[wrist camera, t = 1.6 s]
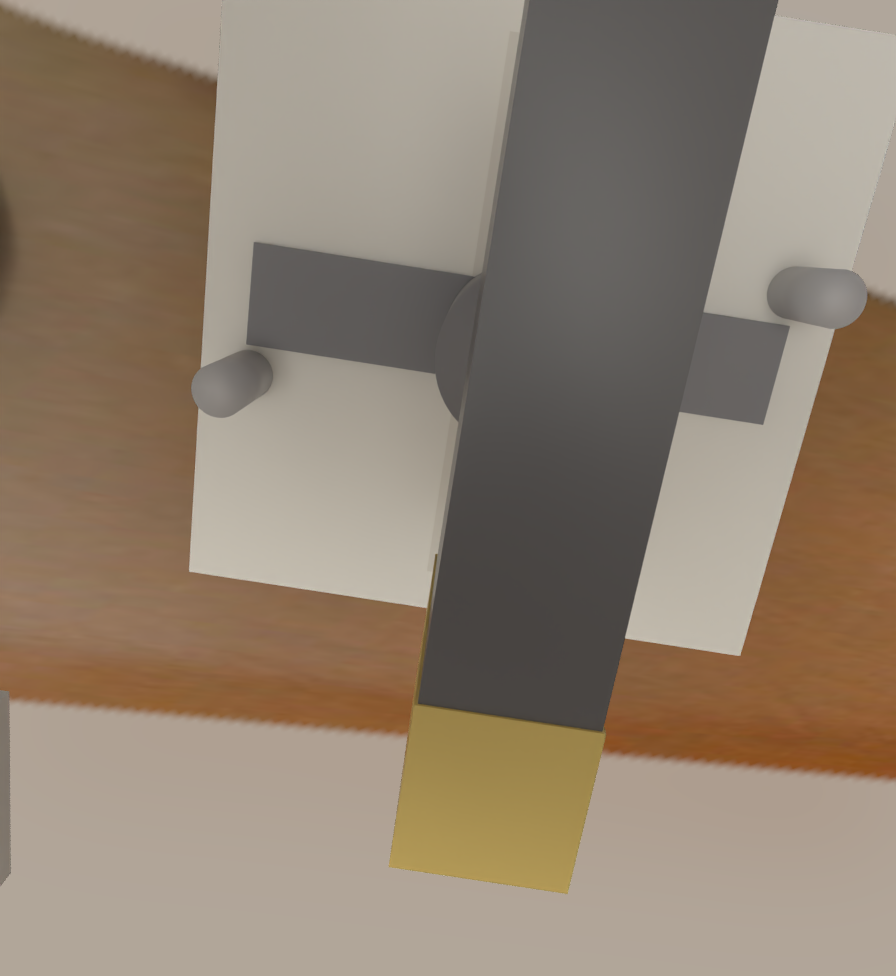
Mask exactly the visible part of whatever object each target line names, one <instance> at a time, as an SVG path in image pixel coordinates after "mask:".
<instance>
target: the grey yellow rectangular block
mask: <svg viewBox="0 0 896 976" xmlns="http://www.w3.org/2000/svg"><path fill="white" fill-rule="evenodd" d="M777 3H778V0H525V2H524V8H523V14H522V21H521V27H520V34H519V40H518V46H517V53H516V59H515V65H514V72H513V78H512V84H511V91H510V97H509V104H508V110H507V116H506V123H505V129H504V135H503V142H502V148H501V154H500V161H499V167H498V174H497V180H496V186H495V193H494V199H493V205H492V212H491V218H490V224H489V231H488V237H487V243H486V250H485V256H484V263H483V269H482V275H481V282H480V288H479V294H478V301H477V307H476V313H475V320H474V326H473V333H472V339H471V345H470V352H469V358H468V364H467V371H466V377H465V383H464V390H463V396H462V402H461V409H460V415H459V422H458V428H457V434H456V441H455V447H454V453H453V460H452V466H451V472H450V479H449V485H448V492H447V498H446V504H445V511H444V517H443V523H442V530H441V536H440V542H439V549H438V554H435V560H434V566H433V572H432V579H431V585H430V592H429V598H428V604H427V611H426V617H425V624H424V630H423V636H422V643H421V649H420V656H419V662H418V668H417V675H416V682H415V689H414V696H413V703H412V710H411V717H410V723H409V730H408V737H407V744H406V751H405V758H404V765H403V772H402V779H401V786H400V793H399V800H398V807H397V814H396V820H395V827H394V834H393V841H392V848H391V855H390V862H389V867H392V868H399V869H405V870H412V871H419V872H425V873H432V874H439V875H445V876H453V877H459V878H465V879H472V880H478V881H485V882H492V883H498V884H506V885H512V886H518V887H525V888H532V889H538V890H545V891H552V892H558V893H565V894H568V889H569V886H570V881H571V877H572V873H573V869H574V865H575V861H576V856H577V852H578V848H579V844H580V840H581V836H582V832H583V828H584V824H585V819H586V815H587V811H588V807H589V803H590V799H591V795H592V791H593V786H594V782H595V778H596V774H597V770H598V766H599V762H600V758H601V754H602V749H603V745H604V741H605V737H606V732H605V728H604V723H605V719H606V715H607V710H608V706H609V702H610V698H611V694H612V690H613V686H614V681H615V677H616V673H617V669H618V665H619V661H620V656H621V652H622V648H623V644H624V640H625V636H626V631H627V627H628V623H629V619H630V615H631V611H632V606H633V602H634V598H635V594H636V590H637V586H638V582H639V577H640V573H641V569H642V565H643V561H644V557H645V552H646V548H647V544H648V540H649V536H650V532H651V527H652V523H653V519H654V515H655V511H656V507H657V503H658V498H659V494H660V490H661V486H662V482H663V478H664V473H665V469H666V465H667V461H668V457H669V453H670V448H671V444H672V440H673V436H674V432H675V428H676V423H677V419H678V415H679V411H680V407H681V403H682V399H683V394H684V390H685V386H686V382H687V378H688V374H689V369H690V365H691V361H692V357H693V353H694V349H695V344H696V340H697V336H698V332H699V328H700V324H701V320H702V315H703V311H704V307H705V303H706V299H707V295H708V290H709V286H710V282H711V278H712V274H713V270H714V265H715V261H716V257H717V253H718V249H719V245H720V240H721V236H722V232H723V228H724V224H725V220H726V216H727V211H728V207H729V203H730V199H731V195H732V191H733V186H734V182H735V178H736V174H737V170H738V166H739V161H740V157H741V153H742V149H743V145H744V141H745V136H746V132H747V128H748V124H749V120H750V116H751V112H752V107H753V103H754V99H755V95H756V91H757V87H758V82H759V78H760V74H761V70H762V66H763V62H764V57H765V53H766V49H767V45H768V41H769V37H770V33H771V28H772V24H773V20H774V16H775V12H776V8H777Z"/></svg>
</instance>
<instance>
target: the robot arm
mask: <svg viewBox="0 0 896 976" xmlns="http://www.w3.org/2000/svg"><path fill="white" fill-rule="evenodd" d="M9 733H10V730H9V692H8V691H2V690H0V886H1V885H2V884H3V882H4V881H5V880H6V878H7V877H8V876H9V874H10V873H11V867H10V866H11V861H10V860H11V858H10V739H9V738H10V736H9V735H10V734H9Z"/></svg>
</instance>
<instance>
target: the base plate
mask: <svg viewBox="0 0 896 976" xmlns="http://www.w3.org/2000/svg"><path fill="white" fill-rule="evenodd" d="M524 2H525V0H222V12H221V30H220V46H219V48H220V49H219V63H218V80H217V98H216V115H215V132H214V150H213V167H212V184H211V201H210V219H209V236H208V253H207V270H206V288H205V305H204V322H203V340H202V357H201V369H200V370H199V371H198V372H197V373H196V374H195V376H194V378H193V381H192V386H191V391H192V396H193V399H194V401H195V403H196V405H197V406H198V407H199V409H198V426H197V443H196V460H195V478H194V495H193V512H192V529H191V547H190V564H189V572H195V573H202V574H208V575H215V576H221V577H228V578H234V579H241V580H247V581H254V582H261V583H267V584H274V585H280V586H287V587H293V588H300V589H306V590H313V591H319V592H326V593H332V594H339V595H345V596H352V597H358V598H365V599H371V600H378V601H385V602H391V603H398V604H404V605H411V606H417V607H424V608H427V604H428V598H429V592H430V585H431V579H432V572H433V566H434V560H435V554H438V549H439V542H440V536H441V530H442V523H443V517H444V511H445V504H446V498H447V492H448V485H449V479H450V472H451V466H452V460H453V453H454V447H455V441H456V434H457V428H458V422H459V415H460V409H461V402H462V396H463V390H464V383H465V377H466V371H467V364H468V358H469V352H470V345H471V339H472V333H473V326H474V320H475V313H476V307H477V301H478V294H479V288H480V282H481V275H482V269H483V263H484V256H485V250H486V243H487V237H488V231H489V224H490V218H491V212H492V205H493V199H494V193H495V186H496V180H497V174H498V167H499V161H500V154H501V148H502V142H503V135H504V129H505V123H506V116H507V110H508V104H509V97H510V91H511V84H512V78H513V72H514V65H515V59H516V53H517V46H518V40H519V34H520V27H521V21H522V14H523V8H524ZM895 121H896V35H895V34H889V33H882V32H876V31H870V30H864V29H858V28H851V27H845V26H838V25H833V24H826V23H820V22H814V21H808V20H801V19H795V18H788V17H783V16H776V15H775V16H774V20H773V24H772V28H771V33H770V37H769V41H768V45H767V49H766V53H765V57H764V62H763V66H762V70H761V74H760V78H759V82H758V87H757V91H756V95H755V99H754V103H753V107H752V112H751V116H750V120H749V124H748V128H747V132H746V136H745V141H744V145H743V149H742V153H741V157H740V161H739V166H738V170H737V174H736V178H735V182H734V186H733V191H732V195H731V199H730V203H729V207H728V211H727V216H726V220H725V224H724V228H723V232H722V236H721V240H720V245H719V249H718V253H717V257H716V261H715V265H714V270H713V274H712V278H711V282H710V286H709V290H708V295H707V299H706V303H705V307H704V311H703V315H702V320H701V324H700V328H699V332H698V336H697V340H696V344H695V349H694V353H693V357H692V361H691V365H690V369H689V374H688V378H687V382H686V386H685V390H684V394H683V399H682V403H681V407H680V411H679V415H678V419H677V423H676V428H675V432H674V436H673V440H672V444H671V448H670V453H669V457H668V461H667V465H666V469H665V473H664V478H663V482H662V486H661V490H660V494H659V498H658V503H657V507H656V511H655V515H654V519H653V523H652V527H651V532H650V536H649V540H648V544H647V548H646V552H645V557H644V561H643V565H642V569H641V573H640V577H639V582H638V586H637V590H636V594H635V598H634V602H633V606H632V611H631V615H630V619H629V623H628V627H627V631H626V636H625V638H626V639H633V640H639V641H646V642H652V643H659V644H665V645H672V646H678V647H685V648H691V649H698V650H704V651H711V652H717V653H724V654H730V655H737V656H740V655H741V651H742V648H743V644H744V641H745V637H746V634H747V631H748V627H749V624H750V620H751V617H752V613H753V610H754V606H755V603H756V600H757V596H758V593H759V589H760V586H761V582H762V579H763V575H764V572H765V569H766V565H767V562H768V558H769V555H770V551H771V548H772V544H773V541H774V538H775V534H776V531H777V527H778V524H779V520H780V517H781V513H782V510H783V507H784V503H785V500H786V496H787V493H788V489H789V486H790V482H791V479H792V476H793V472H794V469H795V465H796V462H797V458H798V455H799V451H800V448H801V445H802V441H803V438H804V434H805V431H806V427H807V424H808V420H809V417H810V414H811V410H812V407H813V403H814V400H815V396H816V393H817V389H818V386H819V383H820V379H821V376H822V372H823V369H824V365H825V362H826V358H827V355H828V352H829V348H830V345H831V341H832V338H833V334H834V331H835V329H838V328H842V327H845V326H847V325H849V324H851V323H852V322H854V321H855V320H856V319H857V318H858V317H859V316H860V315H861V313H862V312H863V310H864V308H865V305H866V301H867V289H866V285H865V283H864V281H863V280H862V278H861V277H860V276H859V275H858V274H856V273H854V272H853V271H852V269H853V265H854V262H855V258H856V255H857V252H858V248H859V245H860V241H861V238H862V234H863V231H864V228H865V224H866V221H867V217H868V214H869V210H870V207H871V204H872V200H873V197H874V193H875V190H876V186H877V183H878V179H879V176H880V173H881V169H882V165H883V162H884V159H885V155H886V152H887V148H888V144H889V142H890V138H891V134H892V131H893V128H894V124H895Z"/></svg>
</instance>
